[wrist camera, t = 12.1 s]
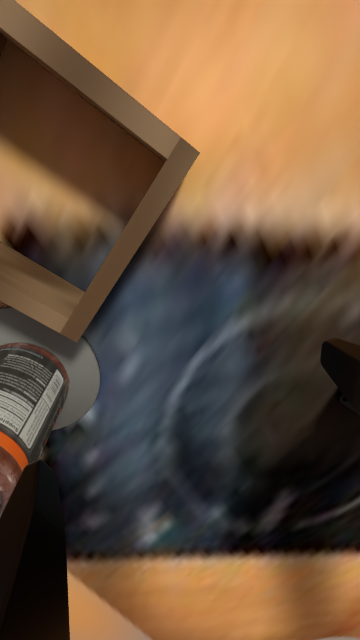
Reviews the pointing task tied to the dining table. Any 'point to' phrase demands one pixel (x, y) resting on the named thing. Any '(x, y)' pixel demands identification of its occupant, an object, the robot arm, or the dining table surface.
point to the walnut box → (80, 307)
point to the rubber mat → (73, 355)
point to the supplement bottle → (27, 408)
